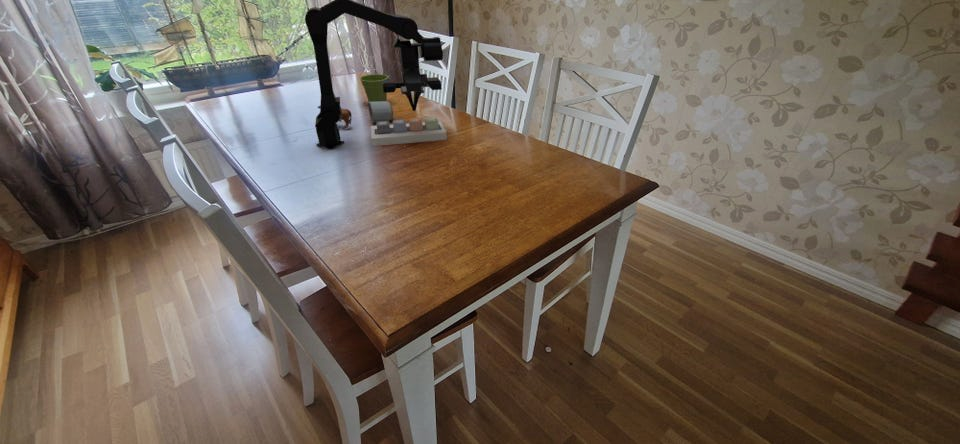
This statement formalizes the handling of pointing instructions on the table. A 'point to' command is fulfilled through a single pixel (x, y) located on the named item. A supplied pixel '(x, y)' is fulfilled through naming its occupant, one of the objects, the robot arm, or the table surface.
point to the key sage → (431, 123)
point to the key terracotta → (415, 125)
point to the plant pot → (374, 87)
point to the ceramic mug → (380, 111)
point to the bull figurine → (345, 117)
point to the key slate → (399, 126)
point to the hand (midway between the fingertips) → (414, 110)
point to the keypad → (408, 135)
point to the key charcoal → (383, 127)
